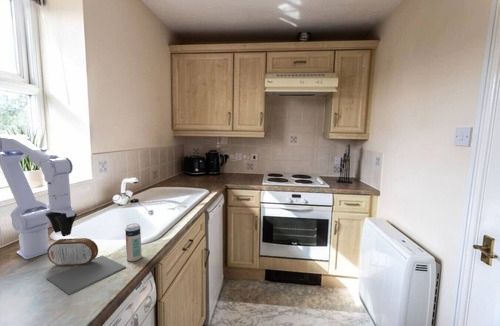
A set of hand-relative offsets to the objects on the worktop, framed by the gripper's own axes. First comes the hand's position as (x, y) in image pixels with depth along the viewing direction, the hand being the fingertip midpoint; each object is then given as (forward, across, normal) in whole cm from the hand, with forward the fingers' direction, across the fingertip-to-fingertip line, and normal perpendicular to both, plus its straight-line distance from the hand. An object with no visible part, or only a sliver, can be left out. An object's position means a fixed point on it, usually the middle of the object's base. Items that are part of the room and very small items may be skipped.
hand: (62, 233), depth 82 cm
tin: (+9, +6, 0) cm, 11 cm away
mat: (+9, +16, 0) cm, 18 cm away
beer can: (+10, +20, +13) cm, 25 cm away
